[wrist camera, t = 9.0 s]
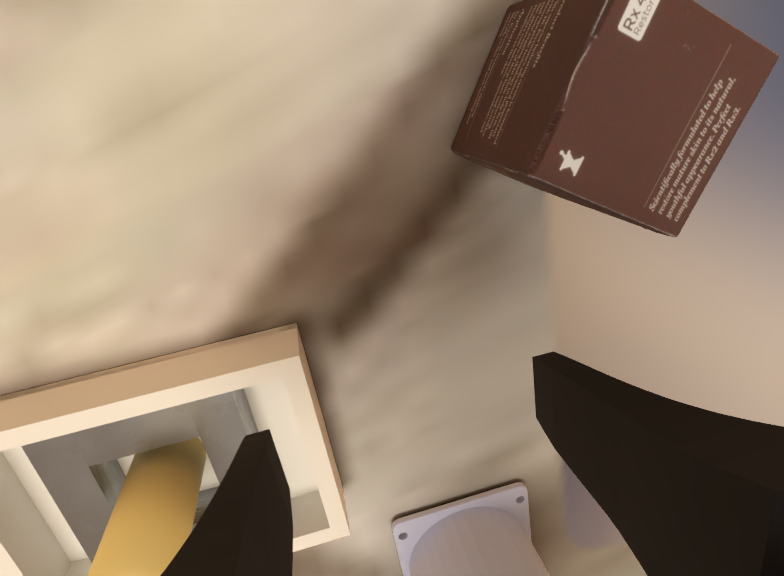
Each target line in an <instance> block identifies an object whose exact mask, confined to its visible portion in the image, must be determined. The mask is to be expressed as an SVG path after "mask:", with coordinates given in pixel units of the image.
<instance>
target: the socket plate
mask: <svg viewBox="0 0 784 576" xmlns="http://www.w3.org/2000/svg"><path fill="white" fill-rule="evenodd" d="M257 432H258V429H257V426H256V423H255V420H254V417H253V414H252V412H251V409H250V406H249V403H248V400H247V397H246V395H245V392H244V389H243V388H242V389H239V390H235V391H231V392H227V393H223V394H219V395H216V396H212V397H208V398H204V399H200V400H196V401H192V402H189V403H185V404H181V405H177V406H173V407H169V408H166V409H162V410H158V411H154V412H150V413H146V414H143V415H139V416H135V417H131V418H127V419H123V420H120V421H116V422H112V423H108V424H104V425H100V426H97V427H93V428H89V429H85V430H81V431H77V432H73V433H70V434H66V435H62V436H58V437H54V438H50V439H47V440H43V441H39V442H35V443H31V444H27V445H24V446H21V447H22V449H23V450H24V452H25V454H26V455H27V457H28V459H29V460H30V462H31V464H32V465H33V467H34V469H35V470H36V472H37V474H38V475H39V477H40V479H41V480H42V482H43V483H44V485H45V487H46V488H47V490H48V492H49V493H50V495H51V497H52V498H53V500H54V502H55V503H56V505H57V507H58V508H59V510H60V512H61V513H62V515H63V516H64V518H65V520H66V521H67V523H68V525H69V526H70V528H71V530H72V531H73V533H74V535H75V536H76V538H77V540H78V541H79V543H80V545H81V546H82V548H83V549H84V551H85V553H86V554H87V556H88V558H89V559H90V561H91V563H92V562H93V560H94V557H95V555H96V552H97V550H98V547H99V544H100V542H101V539H102V537H103V534H104V532H105V529H106V527H107V524H108V522H109V519H110V516H111V514H112V511H113V509H114V506H115V504H116V501H117V499H118V496H119V493H120V491H121V488H122V486H123V483H124V481H125V478H126V476H125V474H124V472H123V470H122V468H121V466H120V464H119V462H118V460H117V459H119V458H123V457H126V456H130V455H134V454H137V453H141V452H145V451H148V450H152V449H156V448H160V447H163V446H167V445H171V444H174V443H178V442H182V441H186V440H189V439H193V438H197V437H200V438H201V441H202V443H203V445H204V448H205V450H206V453H207V455H208V457H209V460H210V462H211V465H212V467H213V470H214V472H215V474H216V477H217V479H218V482H219V484H220V483H221V481H222V479H223V478H224V476H225V474H226V472H227V470H228V468H229V466H230V464H231V462H232V460H233V458H234V456H235V454H236V452H237V450H238V448H239V446H240V444H241V442H242V440H243V439H244V437H245V436H246V435H249V434H253V433H257ZM218 487H219V486H217V487H213V488H210V489H206V490H203V491H199V496H198V501H197V506H196V512H195V517H194V522H193V527H192V530H193V529H194V527H195V526H196V524H197V522H198V521H199V519H200V517H201V516H202V514H203V513H204V511H205V509H206V508H207V506H208V504H209V503H210V501H211V499H212V497H213V496H214V494H215V492H216V490H217V488H218Z"/></svg>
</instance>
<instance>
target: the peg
mask: <svg viewBox="0 0 784 576" xmlns="http://www.w3.org/2000/svg"><path fill="white" fill-rule="evenodd" d="M205 460H206V450H205V448H204V445H203V443H202V442H201V440H200V439H199V438H198V437H197V438H193V439H189V440H186V441H182V442H178V443H174V444H171V445H167V446H163V447H160V448H156V449H152V450H148V451H145V452H141V453H137V454H135V455H134V458H133V460H132V463H131V465H130V468H129V470H128V473H127V476H126V478H125V481H124V483H123V486H122V488H121V491H120V493H119V496H118V499H117V501H116V504H115V506H114V509H113V511H112V514H111V516H110V519H109V522H108V524H107V527H106V529H105V532H104V534H103V537H102V539H101V542H100V544H99V547H98V550H97V552H96V555H95V557H94V560H93V562H92V565H91V567H90V570H89V573H88V575H87V576H160V575H161V574H162V573H163V572H164V570H165V569H166V568H167V566H168V565H169V564H170V562H171V561H172V559H173V558H174V557H175V555H176V554H177V553H178V551H179V550H180V548H181V547H182V545H183V544H184V542H185V541H186V540H187V538H188V537H189V535H190V534H191V532H192V527H193V522H194V517H195V512H196V506H197V501H198V496H199V491H200V486H201V481H202V476H203V471H204V466H205Z"/></svg>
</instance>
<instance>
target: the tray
mask: <svg viewBox="0 0 784 576" xmlns="http://www.w3.org/2000/svg"><path fill="white" fill-rule="evenodd" d="M242 388H243V389H244V392H245V395H246V397H247V400H248V403H249V406H250V409H251V412H252V414H253V417H254V420H255V423H256V426H257V429H258V432H260V431H264V430H268V429H270V432H271V435H272V438H273V441H274V444H275V447H276V450H277V453H278V456H279V459H280V462H281V465H282V468H283V471H284V473H285V476H286V479H287V482H288V485H289V488H290V497H291V507H292V518H293V552H295V551H298V550H302V549H305V548H308V547H311V546H315V545H318V544H321V543H324V542H328V541H331V540H334V539H337V538H341V537H344V536H347V535H350V529H349V523H348V516H347V510H346V504H345V498H344V491H343V486H342V483H341V479H340V476H339V472H338V469H337V465H336V461H335V458H334V454H333V451H332V447H331V444H330V440H329V437H328V433H327V429H326V426H325V422H324V419H323V415H322V412H321V408H320V404H319V401H318V397H317V394H316V390H315V387H314V383H313V380H312V376H311V372H310V369H309V365H308V362H307V358H306V355H305V351H304V347H303V344H302V340H301V337H300V333H299V330H298V326H297V323H293V324H289V325H285V326H281V327H277V328H273V329H269V330H265V331H261V332H257V333H253V334H249V335H245V336H241V337H237V338H233V339H229V340H224V341H220V342H216V343H212V344H208V345H204V346H200V347H196V348H192V349H188V350H184V351H180V352H176V353H172V354H168V355H164V356H160V357H156V358H152V359H148V360H144V361H139V362H135V363H131V364H127V365H123V366H119V367H115V368H111V369H107V370H103V371H99V372H95V373H91V374H87V375H83V376H79V377H75V378H71V379H67V380H63V381H59V382H55V383H50V384H46V385H42V386H38V387H34V388H30V389H26V390H22V391H18V392H14V393H10V394H6V395H2V396H0V576H87V575H88V573H89V570H90V567H91V565H92V563H91V561H90V559H89V558H88V556H87V554H86V553H85V551H84V549H83V548H82V546H81V545H80V543H79V541H78V540H77V538H76V536H75V535H74V533H73V531H72V530H71V528H70V526H69V525H68V523H67V521H66V520H65V518H64V516H63V515H62V513H61V512H60V510H59V508H58V507H57V505H56V503H55V502H54V500H53V498H52V497H51V495H50V493H49V492H48V490H47V488H46V487H45V485H44V483H43V482H42V480H41V479H40V477H39V475H38V474H37V472H36V470H35V469H34V467H33V465H32V464H31V462H30V460H29V459H28V457H27V455H26V454H25V452H24V450H23V449H22V447H21V446H24V445H27V444H31V443H35V442H39V441H43V440H47V439H50V438H54V437H58V436H62V435H66V434H70V433H73V432H77V431H81V430H85V429H89V428H93V427H97V426H100V425H104V424H108V423H112V422H116V421H120V420H123V419H127V418H131V417H135V416H139V415H143V414H146V413H150V412H154V411H158V410H162V409H166V408H169V407H173V406H177V405H181V404H185V403H189V402H192V401H196V400H200V399H204V398H208V397H212V396H216V395H219V394H223V393H227V392H231V391H235V390H239V389H242ZM198 438H199V439H200V440H201V438H200V437H198ZM201 442H202V441H201ZM134 455H135V454H134ZM134 455H130V456H126V457H123V458H119V459H117V460H118V462H119V464H120V466H121V468H122V470H123V472H124V474H125V476H127V473H128V470H129V468H130V465H131V463H132V460H133V458H134ZM219 485H220V484H219V482H218V479H217V477H216V474H215V472H214V470H213V467H212V465H211V462H210V460H209V457H208V455H207V453H206V460H205V466H204V471H203V476H202V481H201V486H200V491H203V490H206V489H210V488H213V487H217V486H219Z"/></svg>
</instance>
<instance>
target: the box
mask: <svg viewBox="0 0 784 576" xmlns="http://www.w3.org/2000/svg"><path fill="white" fill-rule="evenodd" d="M778 58H779V55H778V54H776V53H775V52H773V51H772V50H770V49H769V48H767V47H766V46H764V45H763V44H761V43H759V42H758V41H756V40H754V39H753V38H751V37H750V36H748V35H747V34H745V33H744V32H742V31H741V30H739V29H737V28H736V27H734V26H733V25H731V24H730V23H728V22H727V21H725V20H723V19H722V18H720V17H719V16H717V15H715V14H714V13H712V12H710V11H709V10H708V9H706V8H704V7H703V6H701V5H700V4H698V3H697V2H695V1H694V0H523V1H522V2H519V3H517V4H514V5H511V6H510V7H509V9H508V11H507V13H506V16H505V18H504V21H503V24H502V26H501V28H500V31H499V33H498V36H497V38H496V40H495V43H494V45H493V48H492V50H491V52H490V55H489V57H488V60H487V62H486V65H485V67H484V70H483V72H482V75H481V77H480V79H479V82H478V85H477V87H476V90H475V92H474V94H473V97H472V99H471V102H470V104H469V107H468V109H467V111H466V114H465V116H464V119H463V121H462V124H461V127H460V129H459V132H458V134H457V137H456V139H455V142H454V144H453V146H452V151H453V152H454V153H455V154H457V155H460V156H462V157H464V158H466V159H469V160H471V161H473V162H476V163H478V164H480V165H483V166H485V167H487V168H490V169H492V170H494V171H497V172H499V173H501V174H503V175H506V176H508V177H511V178H513V179H515V180H518V181H520V182H522V183H525V184H527V185H530V186H532V187H535V188H538V189H540V190H542V191H545V192H548V193H550V194H553V195H556V196H558V197H561V198H564V199H566V200H569V201H572V202H575V203H578V204H580V205H583V206H586V207H589V208H592V209H595V210H597V211H600V212H603V213H605V214H608V215H610V216H613V217H616V218H619V219H621V220H625V221H627V222H630V223H633V224H635V225H638V226H641V227H643V228H645V229H649V230H651V231H654V232H656V233H660V234H664V235H668V236H672V237H677V236H678V235H679V233H680V231H681V229H682V227H683V226H684V224H685V222H686V220H687V218H688V217H689V214H690V213H691V211H692V209H693V208H694V206H695V204H696V203H697V201H698V199H699V197H700V195H701V194H702V192H703V190H704V188H705V186H706V185H707V183H708V181H709V179H710V178H711V176H712V174H713V172H714V171H715V169H716V167H717V165H718V163H719V162H720V160H721V158H722V156H723V155H724V153H725V151H726V150H727V148H728V146H729V144H730V143H731V141H732V139H733V137H734V135H735V134H736V131H737V130H738V128H739V127H740V125H741V123H742V121H743V119H744V118H745V116H746V114H747V112H748V111H749V109H750V107H751V105H752V104H753V102H754V100H755V99H756V97H757V95H758V93H759V92H760V90H761V88H762V86H763V84H764V83H765V81H766V79H767V78H768V76H769V74H770V72H771V70H772V68H773V67H774V65H775V64H776V62H777V60H778Z"/></svg>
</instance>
